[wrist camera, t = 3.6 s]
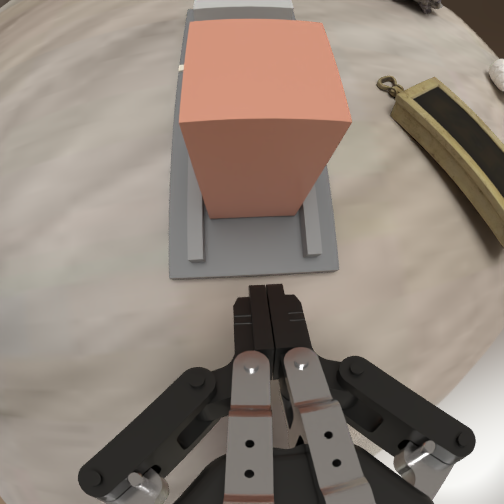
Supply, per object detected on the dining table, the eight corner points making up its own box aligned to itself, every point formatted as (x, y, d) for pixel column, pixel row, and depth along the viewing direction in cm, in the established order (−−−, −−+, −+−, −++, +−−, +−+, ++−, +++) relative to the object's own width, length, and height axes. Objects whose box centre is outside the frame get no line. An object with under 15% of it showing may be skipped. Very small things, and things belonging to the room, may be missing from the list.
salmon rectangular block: (294, 215, 21) (352, 121, 10) (209, 218, 21) (178, 122, 9) (287, 142, 22) (322, 23, 11) (209, 144, 22) (189, 21, 10)
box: (501, 270, 22) (533, 254, 17) (355, 107, 28) (365, 72, 23) (526, 225, 23) (552, 207, 18) (397, 85, 29) (408, 55, 24)
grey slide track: (334, 271, 22) (366, 259, 16) (172, 279, 22) (148, 270, 16) (290, 14, 27) (297, -24, 21) (188, 16, 27) (183, -23, 21)
